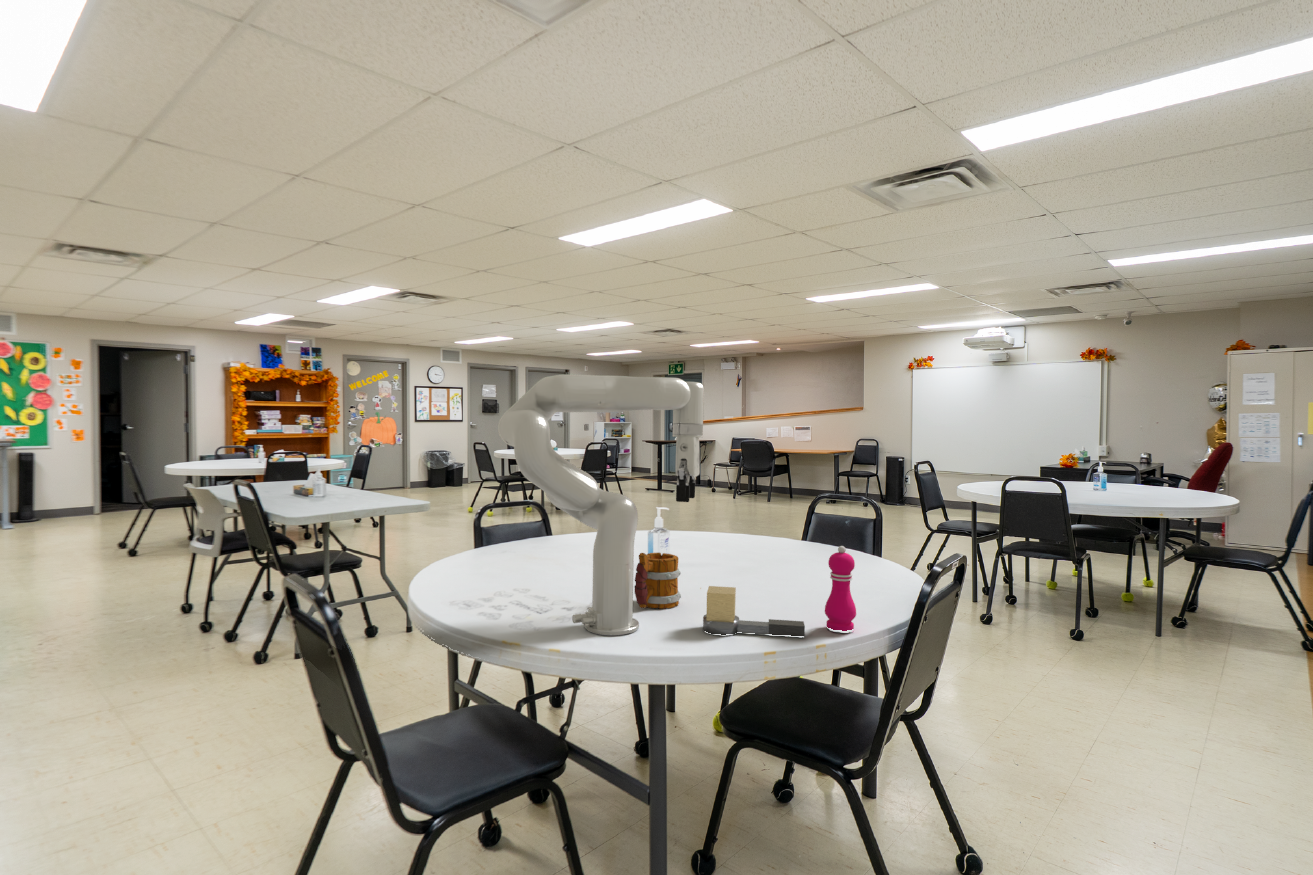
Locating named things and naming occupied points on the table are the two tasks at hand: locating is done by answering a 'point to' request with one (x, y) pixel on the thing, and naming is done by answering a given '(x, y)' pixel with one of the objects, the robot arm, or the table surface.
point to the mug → (657, 581)
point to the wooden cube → (721, 604)
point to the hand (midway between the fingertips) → (685, 499)
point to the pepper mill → (840, 592)
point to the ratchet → (755, 627)
